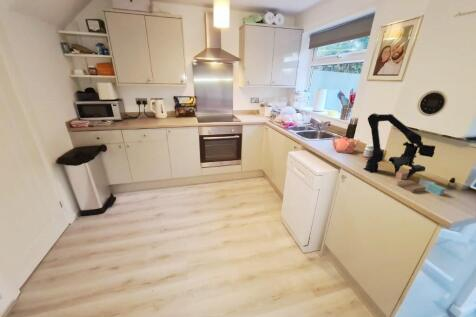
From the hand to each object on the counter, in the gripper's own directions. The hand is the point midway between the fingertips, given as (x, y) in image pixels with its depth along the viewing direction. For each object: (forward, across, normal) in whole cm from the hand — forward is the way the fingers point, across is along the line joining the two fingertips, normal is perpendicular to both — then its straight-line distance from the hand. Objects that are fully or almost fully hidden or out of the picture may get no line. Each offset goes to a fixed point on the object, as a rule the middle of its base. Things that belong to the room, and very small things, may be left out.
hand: (401, 176), depth 130 cm
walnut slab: (+2, +12, -9) cm, 15 cm away
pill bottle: (+2, -34, +8) cm, 35 cm away
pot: (+2, -55, +3) cm, 55 cm away
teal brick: (+1, +19, 0) cm, 19 cm away
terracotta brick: (+1, 0, 0) cm, 1 cm away
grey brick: (+1, +13, +2) cm, 13 cm away
